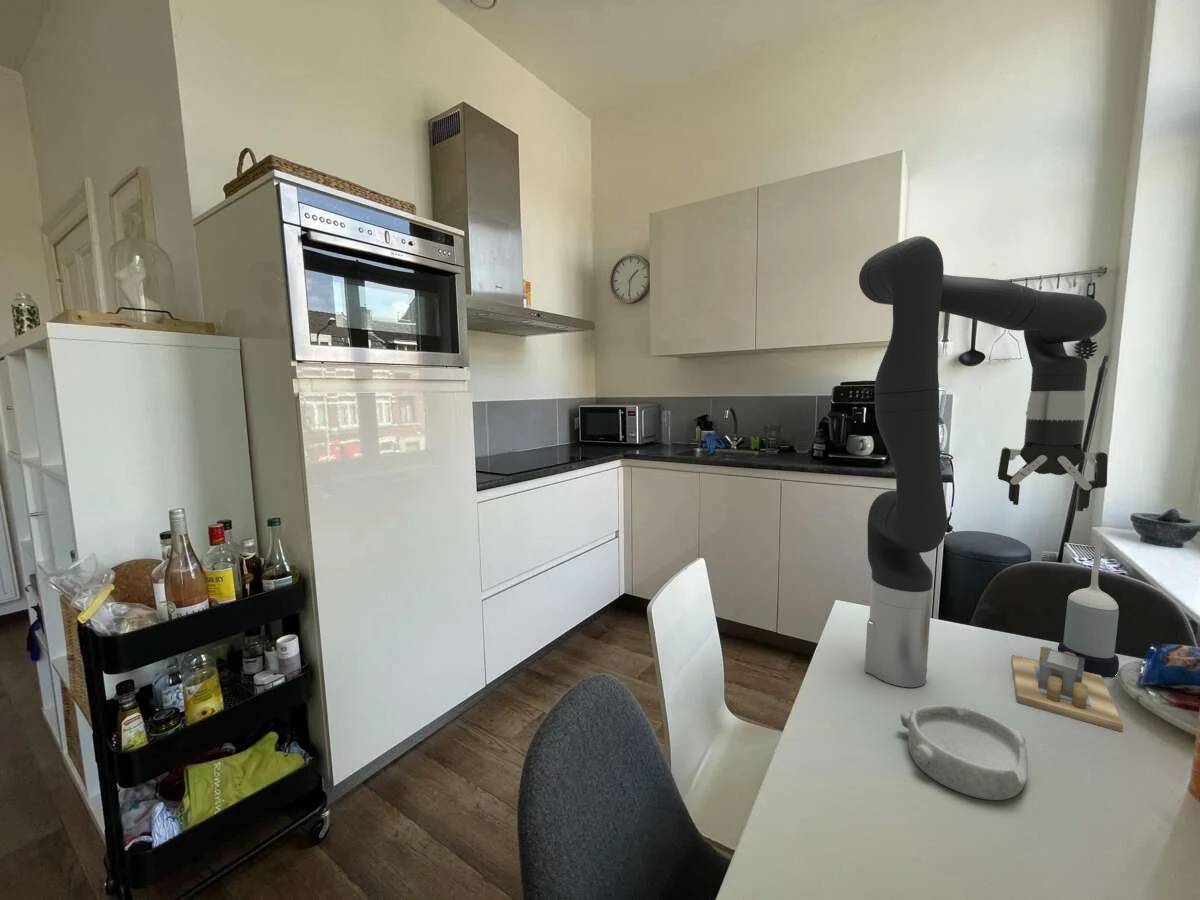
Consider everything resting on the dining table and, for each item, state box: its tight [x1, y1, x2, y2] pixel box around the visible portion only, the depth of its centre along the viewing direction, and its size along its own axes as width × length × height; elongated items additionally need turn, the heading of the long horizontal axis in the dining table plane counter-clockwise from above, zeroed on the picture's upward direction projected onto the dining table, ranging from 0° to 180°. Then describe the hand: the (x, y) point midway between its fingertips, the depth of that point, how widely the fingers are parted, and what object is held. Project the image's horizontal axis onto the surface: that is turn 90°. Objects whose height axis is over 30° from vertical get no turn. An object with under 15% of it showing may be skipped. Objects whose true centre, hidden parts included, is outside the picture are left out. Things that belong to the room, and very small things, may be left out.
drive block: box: [1038, 647, 1085, 698], centre depth 83 cm, size 5×8×4 cm, turn 133°
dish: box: [900, 704, 1029, 801], centre depth 67 cm, size 14×14×5 cm
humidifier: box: [1057, 533, 1120, 678], centre depth 90 cm, size 8×8×25 cm
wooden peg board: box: [1010, 646, 1124, 733], centre depth 83 cm, size 16×12×5 cm
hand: (1046, 507), depth 88 cm, fingers open, 8 cm apart
